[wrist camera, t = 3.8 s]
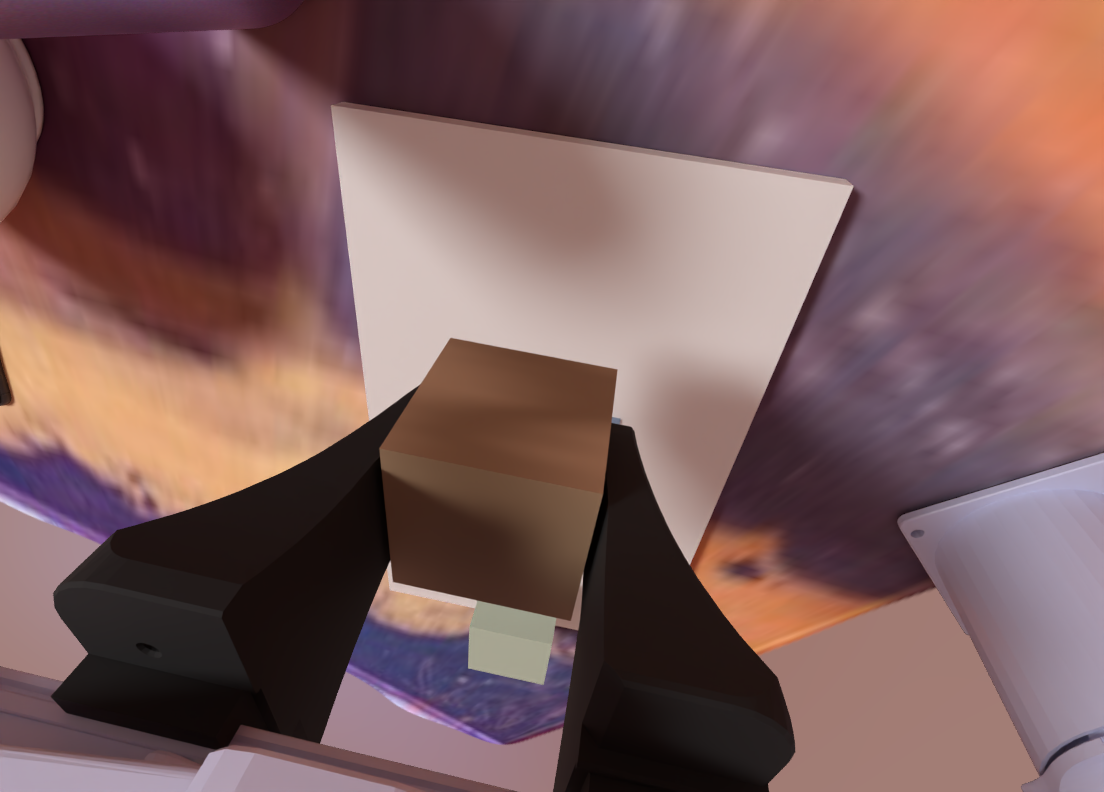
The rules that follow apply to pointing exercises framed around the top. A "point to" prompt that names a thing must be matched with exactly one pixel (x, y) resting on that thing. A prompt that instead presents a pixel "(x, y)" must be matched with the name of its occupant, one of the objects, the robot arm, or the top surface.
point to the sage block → (510, 642)
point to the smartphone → (4, 388)
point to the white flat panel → (583, 277)
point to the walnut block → (499, 476)
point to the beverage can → (135, 16)
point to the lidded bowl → (17, 121)
